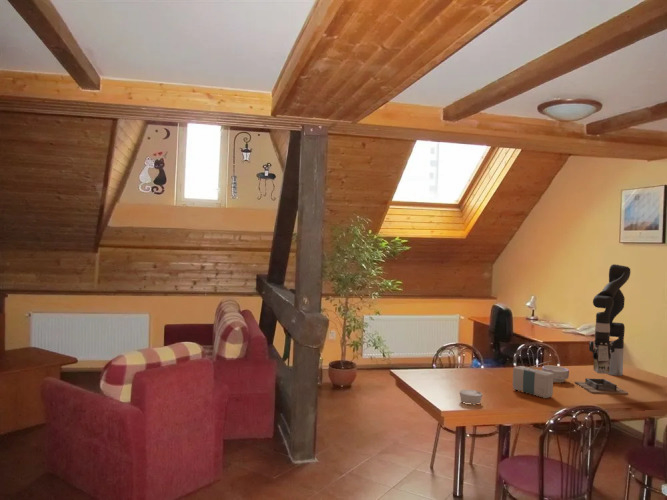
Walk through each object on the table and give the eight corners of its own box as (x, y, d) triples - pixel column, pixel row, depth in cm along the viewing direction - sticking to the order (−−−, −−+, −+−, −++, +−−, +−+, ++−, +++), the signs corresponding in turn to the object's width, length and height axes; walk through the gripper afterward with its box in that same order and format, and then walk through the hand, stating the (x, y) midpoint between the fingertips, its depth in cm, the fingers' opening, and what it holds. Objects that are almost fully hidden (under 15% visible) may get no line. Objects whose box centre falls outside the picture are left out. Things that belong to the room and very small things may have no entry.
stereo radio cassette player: (511, 390, 299) (512, 354, 299) (520, 388, 304) (521, 353, 304) (545, 400, 282) (547, 362, 282) (554, 397, 287) (555, 360, 287)
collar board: (574, 383, 319) (574, 376, 319) (608, 384, 319) (608, 377, 319) (591, 393, 297) (592, 386, 297) (628, 394, 297) (628, 387, 297)
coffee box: (609, 374, 302) (610, 345, 302) (597, 373, 304) (598, 345, 304) (604, 370, 311) (605, 343, 311) (593, 369, 313) (593, 342, 312)
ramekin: (485, 406, 268) (485, 395, 268) (463, 406, 268) (463, 395, 268) (477, 399, 280) (477, 389, 280) (456, 399, 279) (456, 389, 279)
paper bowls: (574, 383, 318) (574, 370, 318) (554, 385, 313) (554, 371, 313) (555, 377, 333) (556, 364, 333) (535, 378, 328) (536, 365, 327)
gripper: (611, 330, 311) (610, 358, 311) (586, 329, 311) (585, 357, 311) (618, 332, 304) (617, 361, 304) (593, 331, 304) (592, 360, 304)
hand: (601, 359), depth 308 cm, fingers closed on coffee box, 7 cm apart
